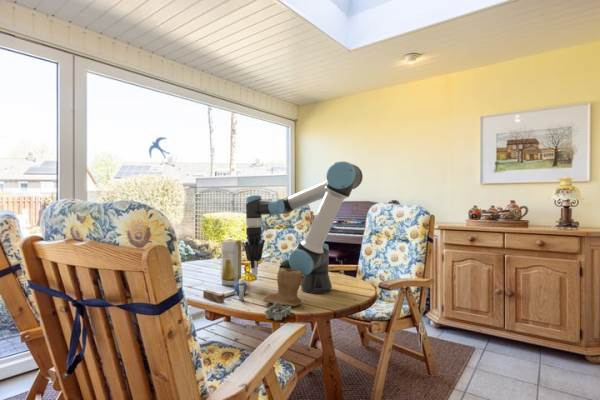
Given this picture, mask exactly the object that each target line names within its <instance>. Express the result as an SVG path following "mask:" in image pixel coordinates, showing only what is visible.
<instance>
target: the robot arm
mask: <svg viewBox="0 0 600 400" xmlns="http://www.w3.org/2000/svg"><path fill="white" fill-rule="evenodd" d="M325 177H326V180H323V181H321V182H319V183H316V184H314V185H312V186H309V187H307V188H305V189H303V190H300V191H298V192H296V193H293V194H291V195H289V196H286V197H284V198H268V199H266V198H264V199H263V198H262V196H261V195H258V194H256V195H246V198H245V214H246V216H245V221H246V222H245V226H246V229H245V231H246V232H245V234H246V236H247V237H246V239H245V241H242V245H243V246H244V251H245V256H246V261H248V262H249V263H250V268H251V275H252V276H257V275H258V274H259V273H258V268H259V262H260V260H261V259H262V257H263V251H264V246H265V245H264V244H265V242H266V240H265V239H263V238H262V236H261V235H262V231H263V230H262V227H261V226H262V225H263V224H262V215H267V216H268V215H273V216H277V215H287V214H290V213H292V212H293V211H295V210H297V209H299V208H302V207H305V206H307V205H309V204H312V203H314V202H317V201H320V200H321V202H320V204H319V206H318V208H317V210H316V213H315V215H314V217H313V220H312V221H311V224H310V226H309V229H308V230H307V233H306V235H305V238H303V239H301V240H300V241H299V242H298V245H297V248H296V249H295V250H293V251H292V252H291V253H290V255H289V258H288V260H289V264H290V267H291V269H294V270H299V271H300V272H301V273H302V276H303V277H302V280H301V284H300V285H301V286H300V289H301V291H302V290H303V291H302V292H304V291H305V293H308V292H309V293H308V294H326V293H325V292H327V293H330V292H331V290H333V286H332V281H331V278H330V275H329V265H330V264H329V263H330V261H329V257H330V255H329V254H330V250H329V249H330V248H329V244H327V243H325V241H326V239H327V237H328V235H329V232H330V230H331V228H332V226H333V224H334V222H335V220H336V217H337V215H338V212H339V211H340V209H341V206H342V204H343V202H344V200H346V199H347V198H349V197H350V195H351V193H352V190H354V189H357V188H358V187H359V186H360V185H361V184H362V182H363V177H364V176H363V173H362V169H360V167H359V166H357V165H355V164H353V163H350V162H347V161H343V160H342V161H336V162H334V163H332V164H331V165H330V166H329V167H328V169H327V171H326V176H325ZM329 291H330V292H329Z"/></svg>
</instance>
